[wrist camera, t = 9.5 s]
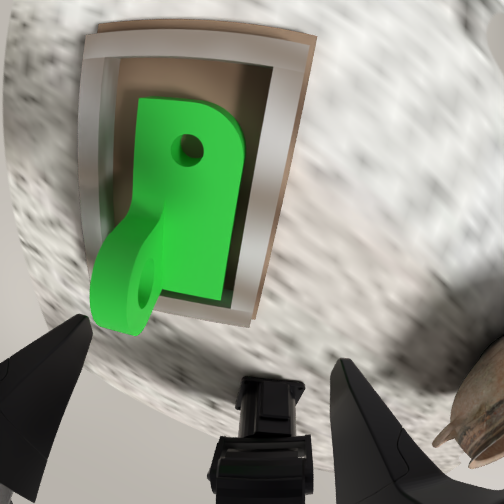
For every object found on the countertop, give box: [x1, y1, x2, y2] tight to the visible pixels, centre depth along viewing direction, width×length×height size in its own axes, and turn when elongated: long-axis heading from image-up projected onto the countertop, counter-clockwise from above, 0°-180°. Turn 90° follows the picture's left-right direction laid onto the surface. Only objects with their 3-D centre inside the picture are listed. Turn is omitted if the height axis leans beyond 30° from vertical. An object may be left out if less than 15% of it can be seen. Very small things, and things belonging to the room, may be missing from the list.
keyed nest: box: [78, 19, 317, 328], centre depth 18 cm, size 20×13×3 cm, turn 170°
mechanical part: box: [90, 96, 246, 336], centre depth 15 cm, size 12×6×8 cm, turn 170°
